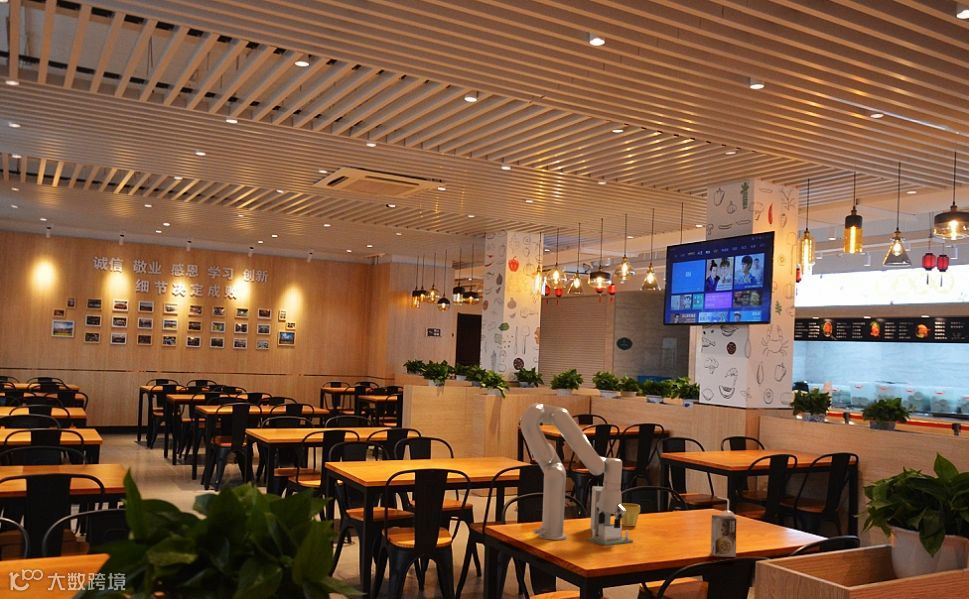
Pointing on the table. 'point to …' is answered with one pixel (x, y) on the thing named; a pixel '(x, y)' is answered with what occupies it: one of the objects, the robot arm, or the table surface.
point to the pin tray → (610, 542)
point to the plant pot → (630, 514)
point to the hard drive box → (594, 512)
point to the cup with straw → (727, 512)
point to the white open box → (610, 532)
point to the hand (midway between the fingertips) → (609, 525)
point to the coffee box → (723, 536)
